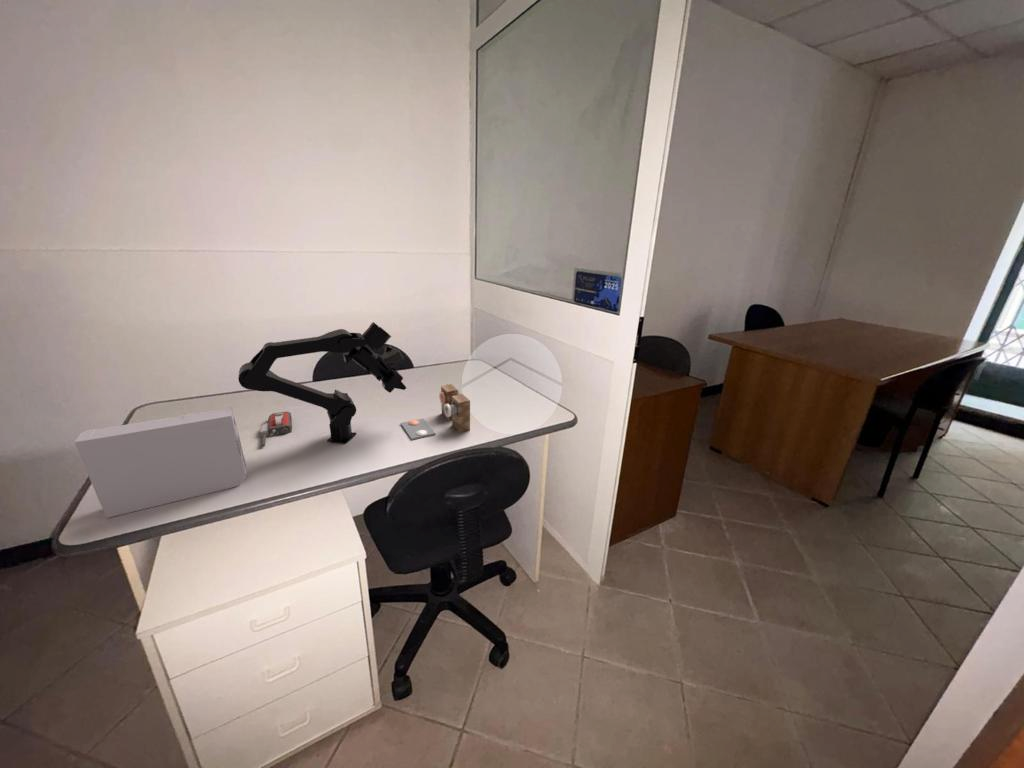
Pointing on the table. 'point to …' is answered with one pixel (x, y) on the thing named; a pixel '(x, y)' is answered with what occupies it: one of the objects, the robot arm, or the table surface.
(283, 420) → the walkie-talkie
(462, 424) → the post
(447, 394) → the post
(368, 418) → the table surface
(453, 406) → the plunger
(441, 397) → the plunger
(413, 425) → the card
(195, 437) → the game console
